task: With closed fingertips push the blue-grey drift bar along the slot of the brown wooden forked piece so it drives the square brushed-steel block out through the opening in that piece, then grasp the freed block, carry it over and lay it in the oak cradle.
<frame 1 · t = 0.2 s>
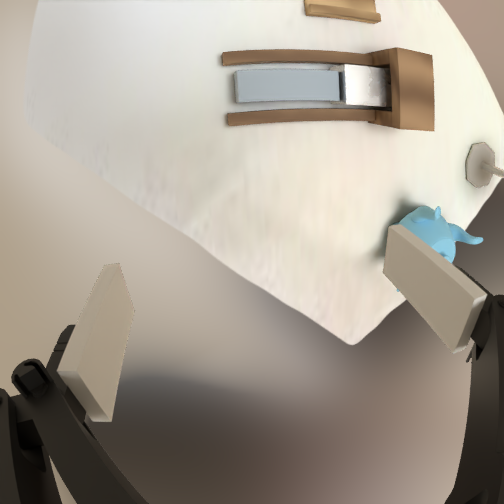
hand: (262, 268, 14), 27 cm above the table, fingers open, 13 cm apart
drift: (282, 86, 35), on the table
block: (366, 87, 36), on the table
wineglass: (478, 164, 43), on the table
teapot: (408, 233, 47), on the table
brown wooden forked piece: (321, 85, 35), on the table
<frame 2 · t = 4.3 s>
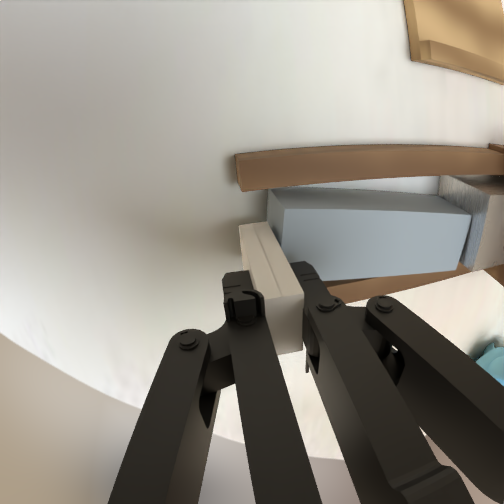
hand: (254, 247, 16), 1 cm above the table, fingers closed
drift: (360, 218, 18), on the table, touching gripper
block: (480, 203, 19), on the table
teapot: (472, 366, 31), on the table
brown wooden forked piece: (423, 211, 19), on the table
cradle: (457, 9, 12), on the table
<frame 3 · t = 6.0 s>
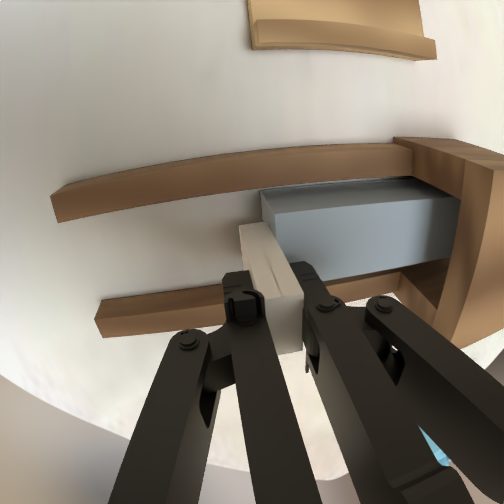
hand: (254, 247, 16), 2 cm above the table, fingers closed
drift: (359, 211, 18), on the table, touching block, gripper
brown wooden forked piece: (289, 227, 18), on the table
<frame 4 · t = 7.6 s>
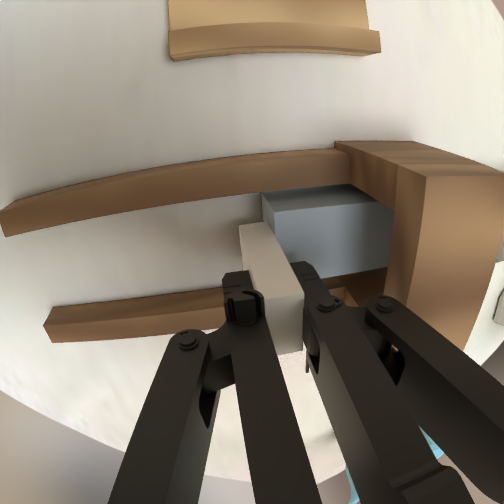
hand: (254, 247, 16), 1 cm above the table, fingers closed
drift: (357, 210, 18), on the table, touching gripper
teapot: (389, 404, 30), on the table
brown wooden forked piece: (220, 240, 17), on the table
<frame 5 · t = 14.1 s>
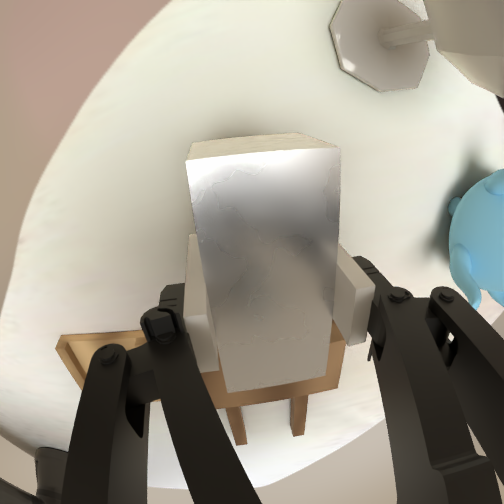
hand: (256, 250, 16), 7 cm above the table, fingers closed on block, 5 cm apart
block: (254, 242, 16), point 7 cm above the table, touching gripper
wineglass: (378, 40, 18), on the table
teapot: (469, 218, 26), on the table
brown wooden forked piece: (263, 376, 32), on the table
cradle: (119, 367, 29), on the table
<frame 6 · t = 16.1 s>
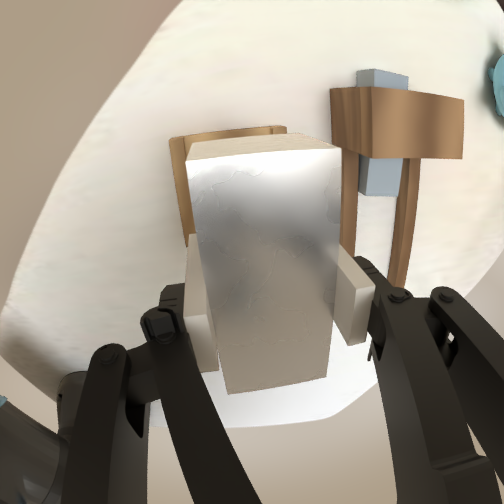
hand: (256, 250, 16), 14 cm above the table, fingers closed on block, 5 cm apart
drift: (369, 130, 28), on the table
block: (255, 243, 16), point 14 cm above the table, touching gripper
teapot: (502, 89, 27), on the table
brown wooden forked piece: (373, 204, 32), on the table
cradle: (231, 182, 29), on the table
when the fingers open (2 cm above the table, at t = 18.5 s): block stays where it is, resting on cradle.
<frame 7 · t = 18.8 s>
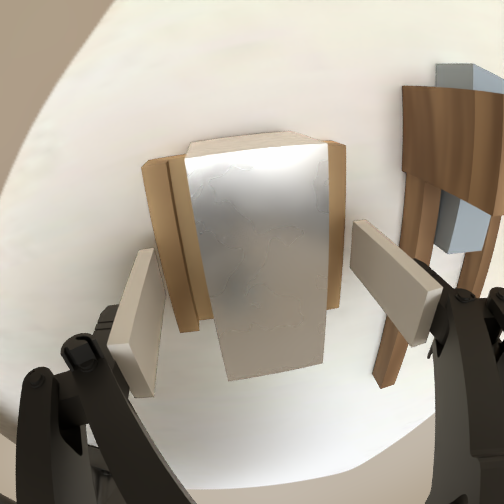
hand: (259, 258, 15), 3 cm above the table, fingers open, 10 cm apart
drift: (447, 151, 18), on the table
block: (252, 236, 17), point 1 cm above the table, touching cradle
brown wooden forked piece: (442, 253, 21), on the table
cradle: (249, 232, 18), on the table
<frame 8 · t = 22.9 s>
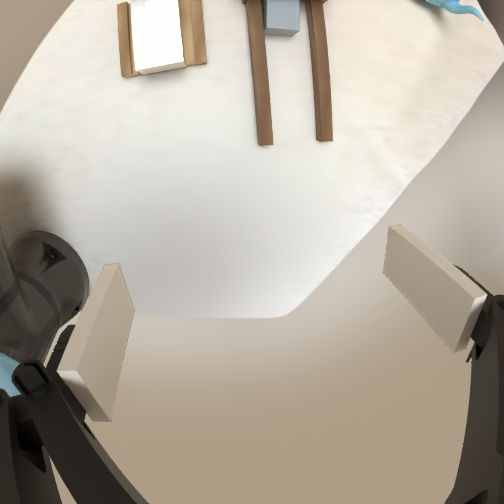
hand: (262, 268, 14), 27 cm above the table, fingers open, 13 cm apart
block: (161, 29, 28), point 1 cm above the table, touching cradle
brown wooden forked piece: (287, 49, 32), on the table
cradle: (162, 33, 29), on the table
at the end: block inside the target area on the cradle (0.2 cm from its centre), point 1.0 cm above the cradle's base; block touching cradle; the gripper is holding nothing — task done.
